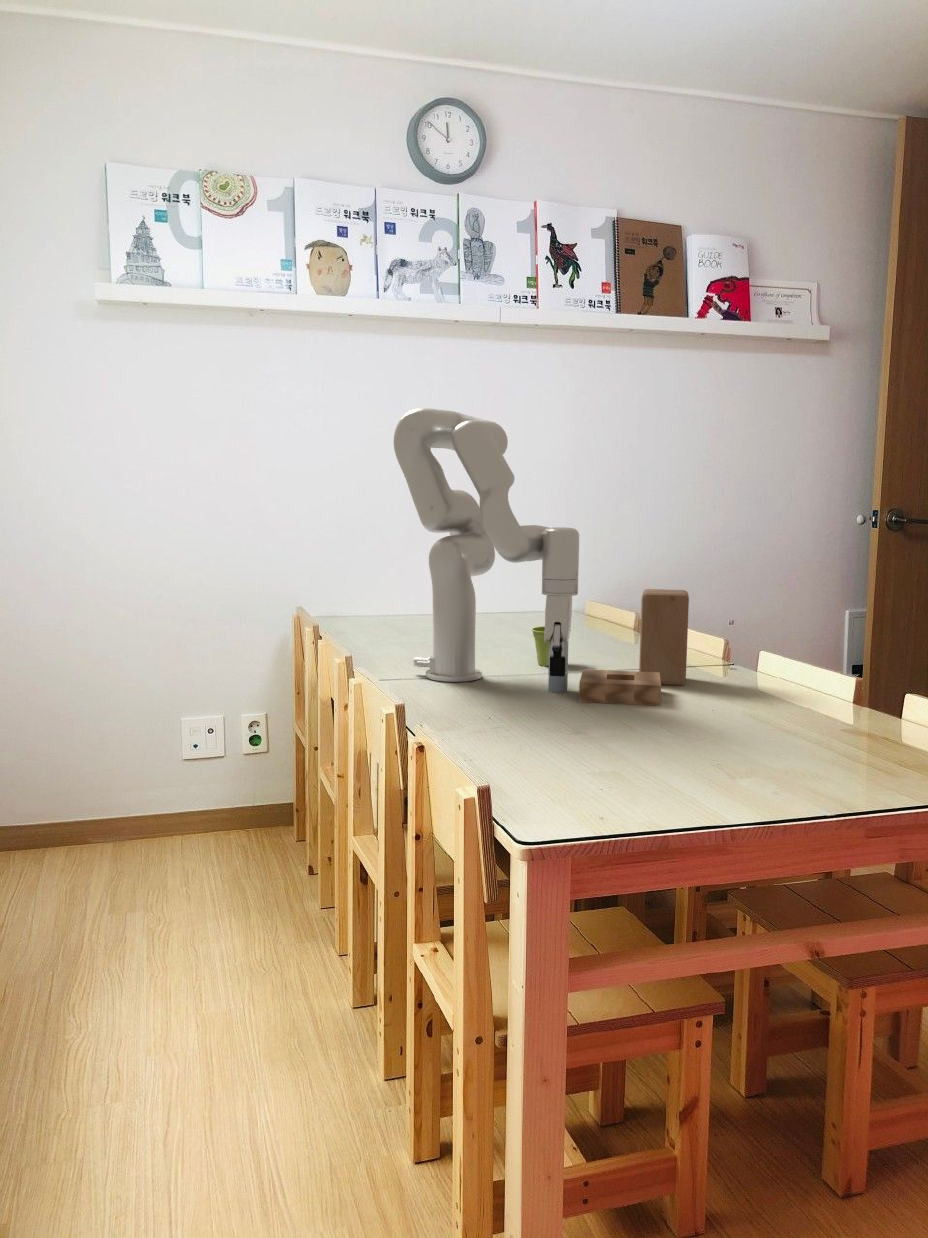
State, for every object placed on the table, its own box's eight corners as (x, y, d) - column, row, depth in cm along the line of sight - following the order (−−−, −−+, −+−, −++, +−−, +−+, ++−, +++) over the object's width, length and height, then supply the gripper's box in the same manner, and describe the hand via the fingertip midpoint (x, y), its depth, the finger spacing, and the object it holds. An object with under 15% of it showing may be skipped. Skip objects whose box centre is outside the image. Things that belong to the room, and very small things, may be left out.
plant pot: (551, 669, 237) (551, 633, 236) (522, 664, 244) (523, 628, 243) (578, 665, 243) (579, 629, 242) (549, 659, 250) (550, 624, 249)
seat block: (579, 702, 203) (579, 682, 203) (582, 687, 217) (583, 669, 216) (660, 705, 200) (661, 685, 200) (658, 690, 214) (659, 672, 214)
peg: (546, 692, 212) (548, 635, 210) (548, 688, 216) (549, 632, 214) (567, 693, 211) (568, 636, 210) (568, 689, 215) (569, 633, 214)
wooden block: (685, 686, 219) (689, 594, 216) (638, 684, 221) (641, 593, 218) (685, 677, 229) (688, 589, 226) (640, 675, 231) (642, 588, 228)
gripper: (545, 582, 219) (543, 666, 222) (538, 591, 203) (536, 680, 206) (580, 583, 218) (578, 667, 221) (575, 592, 202) (573, 682, 204)
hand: (558, 672), depth 213 cm, fingers closed on peg, 4 cm apart
